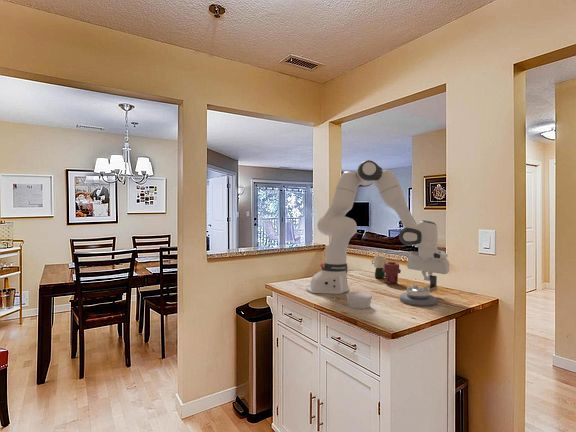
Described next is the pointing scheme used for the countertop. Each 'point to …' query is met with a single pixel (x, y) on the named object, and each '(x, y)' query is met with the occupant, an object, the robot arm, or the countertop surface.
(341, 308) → the countertop surface
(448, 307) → the countertop surface
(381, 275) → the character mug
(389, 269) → the mechanical component
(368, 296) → the ramekin
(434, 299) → the base
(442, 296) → the countertop surface
